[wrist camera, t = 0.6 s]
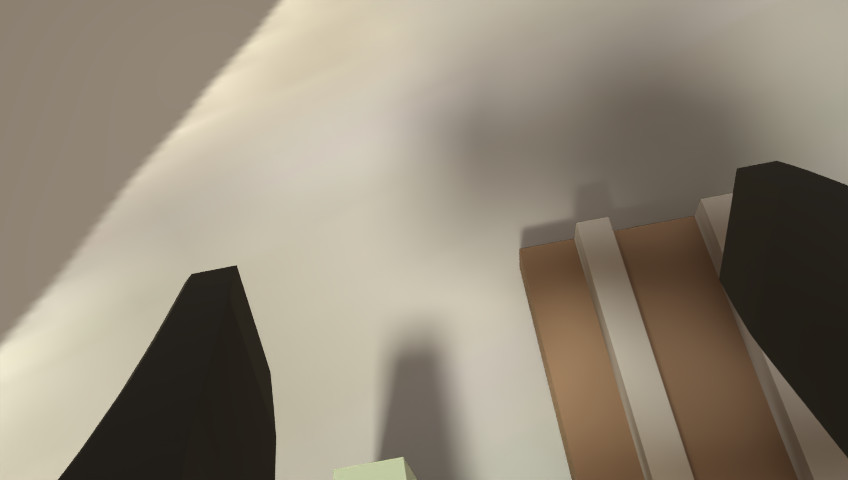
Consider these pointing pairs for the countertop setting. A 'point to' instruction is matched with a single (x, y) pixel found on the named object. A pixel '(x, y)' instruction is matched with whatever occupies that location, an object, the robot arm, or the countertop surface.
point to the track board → (663, 360)
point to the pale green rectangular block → (377, 471)
